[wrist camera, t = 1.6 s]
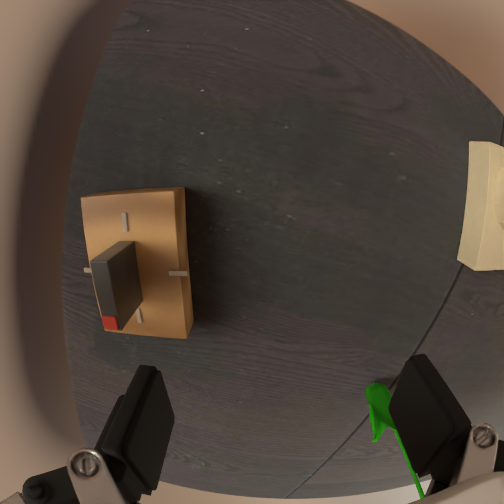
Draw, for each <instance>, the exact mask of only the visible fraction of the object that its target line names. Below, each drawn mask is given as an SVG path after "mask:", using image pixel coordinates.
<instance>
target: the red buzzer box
mask: <svg viewBox="0 0 504 504" xmlns="http://www.w3.org/2000/svg"><path fill="white" fill-rule="evenodd" d="M457 260H458V261H460V262H462V263H463V264H465V265H466V266H468V267H469V268H471V269H473V270H474V271H485V270H504V147H502V146H499V145H497V144H494V143H491V142H479V141H469V168H468V185H467V197H466V206H465V215H464V222H463V229H462V235H461V241H460V246H459V252H458V257H457Z"/></svg>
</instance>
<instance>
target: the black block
mask: <svg viewBox="0 0 504 504" xmlns="http://www.w3.org/2000/svg"><path fill="white" fill-rule="evenodd" d="M90 266H91V271H92V276H93V281H94V286H95V290H96V295H97V299H98V303H99V308H100V312H101V315H102V316H101V318H102V321H103V325H104V329H110V330H118V331H122V330H123V328H124V327H125V325H126V324H127V323H128V321H129V320H130V318H131V317H132V316H133V314H134V313H135V311H136V310H137V309H138V307H139V306H140V304H141V303H142V302H143V297H142V291H141V284H140V278H139V271H138V264H137V256H136V248H135V241H118V242H117V243H115V244H114V245H112V246H111V247H109V248H108V249H107V250H105V251H104V252H102V253H101V254H99V255H98V256H96V257H95V258H93V259H92V260H91V261H90Z"/></svg>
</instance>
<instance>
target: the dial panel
mask: <svg viewBox="0 0 504 504" xmlns="http://www.w3.org/2000/svg"><path fill="white" fill-rule="evenodd" d="M81 206H82V215H83V224H84V232H85V239H86V245H87V252H88V258H89V263H90V261H91V260H92V259H93V258H95V257H96V256H98V255H99V254H101V253H102V252H104V251H105V250H107V249H108V248H109V247H111V246H112V245H114V244H115V243H117V242H118V241H135V248H136V256H137V264H138V271H139V278H140V284H141V291H142V297H143V302H142V303H141V304H140V306H139V307H138V309H137V310H136V311H135V313H134V314H133V316H132V317H131V318H130V320H129V321H128V323H127V324H126V325H125V327H124V328H123V330H122V331H118V330H110V329H105V331H111V332H119V333H127V334H136V335H146V336H156V337H168V338H181V339H187V338H188V335H189V333H190V330H191V327H192V324H193V322H194V316H193V307H192V297H191V286H190V274H189V262H188V248H187V232H186V212H185V188H184V187H170V188H151V189H135V190H122V191H109V192H99V193H95V194H92V195H88V196H84V197H81ZM84 272H89V273H91V274H92V271H91V266H90V268H84ZM92 279H93V276H92ZM93 284H94V281H93ZM94 288H95V286H94ZM95 293H96V290H95ZM96 297H97V295H96ZM97 301H98V299H97ZM98 305H99V303H98ZM99 310H100V308H99ZM100 313H101V312H100ZM101 316H102V315H101Z"/></svg>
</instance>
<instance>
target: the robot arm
mask: <svg viewBox="0 0 504 504" xmlns="http://www.w3.org/2000/svg"><path fill="white" fill-rule="evenodd" d="M388 409H389V413H390V416H391V418H392V420H393V423H394V425H395V427H396V430H397V432H398V434H399V437H400V439H401V442H402V444H403V446H404V449H405V451H406V454H407V456H408V459H409V461H410V464H411V467H412V469H413V471H414V472H415V473H417V474H418V476H419V478H420V477H423V476H425V475H428V474H431V476H432V480H431V483H430V485H429V487H428V490H427V492H426V494H425V497H424V498H422V499H420V500H417V501H414V502H412V503H409V504H504V441H502V440H498V433H497V431H496V430H495V428H494V427H493V426H491V425H490V424H487V423H479V424H476V425H475V426H473V427H472V426H471V421H470V420H469V418H468V417H467V415H466V413H465V412H464V410H463V409H462V407H461V406H460V404H459V402H458V401H457V399H456V398H455V396H454V395H453V393H452V392H451V390H450V389H449V387H448V386H447V384H446V383H445V382H444V380H443V379H442V377H441V376H440V374H439V373H438V371H437V370H436V369H435V367H434V366H433V364H432V363H431V362H430V360H429V359H428V357H427V356H426V355H425V354H420V355H414V356H411V357H410V358H409V360H407V361H406V363H405V365H404V368H403V371H402V374H401V376H400V379H399V381H398V384H397V386H396V389H395V391H394V394H393V396H392V398H391V401H390V403H389V407H388ZM173 424H174V413H173V410H172V407H171V403H170V400H169V397H168V394H167V391H166V387H165V384H164V381H163V377H162V374H161V371H159V370H157V369H156V367H155V366H147V365H140V366H139V367H138V369H137V371H136V373H135V375H134V377H133V379H132V381H131V383H130V385H129V387H128V389H127V391H126V394H125V395H121V396H120V397H119V398H118V400H117V402H116V404H115V406H114V408H113V410H112V412H111V414H110V416H109V418H108V420H107V423H106V425H105V427H104V429H103V431H102V433H101V435H100V437H99V440H98V442H97V444H96V446H95V448H94V450H93V449H91V448H81V449H78V450H76V451H74V452H73V453H71V454H70V456H69V458H68V460H67V466H65V467H62V468H59V469H56V470H53V471H50V472H46V473H43V474H40V475H36V476H33V477H31V478H29V479H27V480H26V481H25V483H24V485H23V490H22V491H23V492H22V493H19V492H16V493H15V494H13V495H12V496H10V497H9V498H7V499H5V500H4V501H2V502H1V503H0V504H140V502H139V500H140V498H141V495H142V494H146V495H151V492H152V490H156V488H157V485H158V482H159V478H160V474H161V470H162V466H163V462H164V458H165V454H166V451H167V447H168V443H169V439H170V436H171V432H172V428H173Z"/></svg>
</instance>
